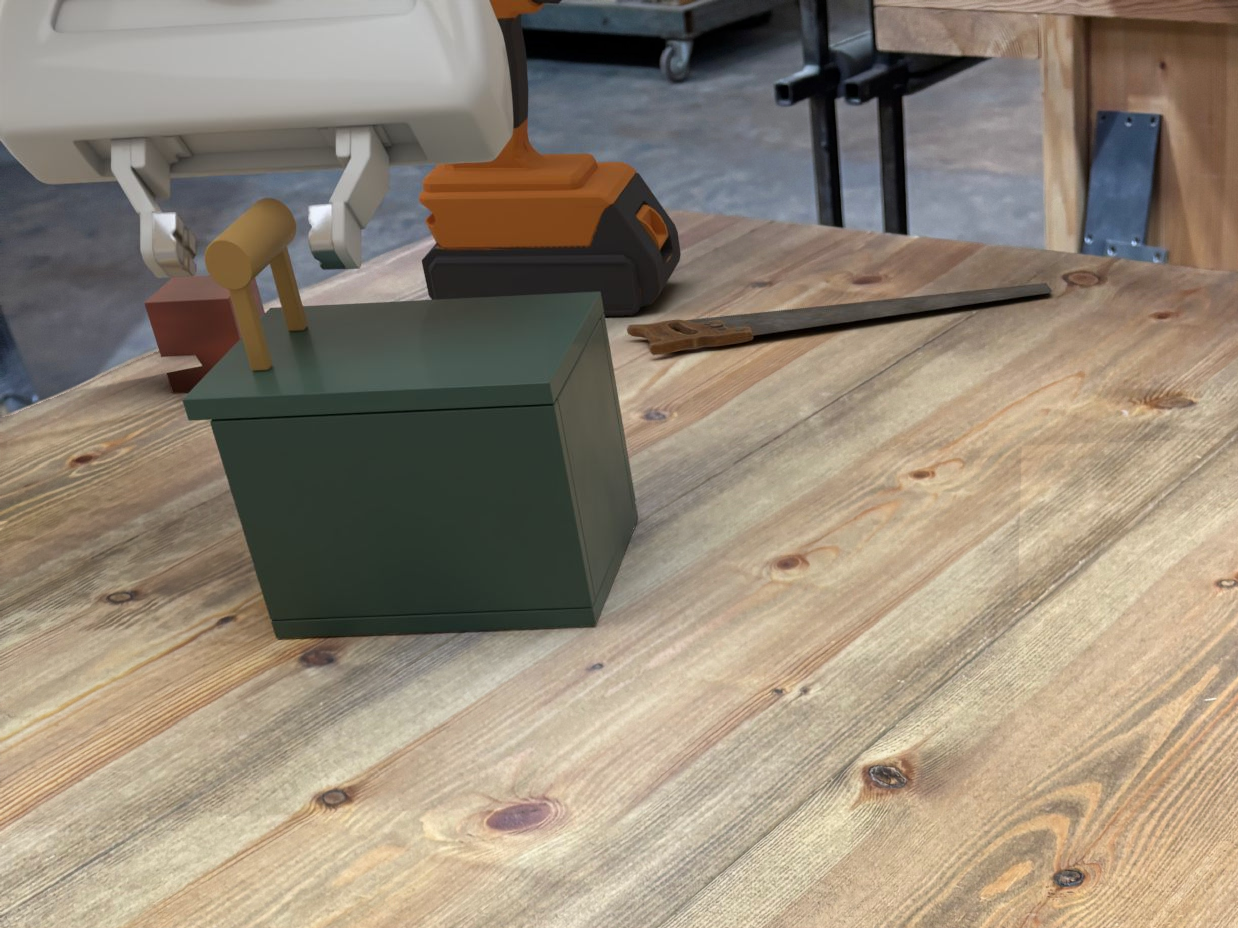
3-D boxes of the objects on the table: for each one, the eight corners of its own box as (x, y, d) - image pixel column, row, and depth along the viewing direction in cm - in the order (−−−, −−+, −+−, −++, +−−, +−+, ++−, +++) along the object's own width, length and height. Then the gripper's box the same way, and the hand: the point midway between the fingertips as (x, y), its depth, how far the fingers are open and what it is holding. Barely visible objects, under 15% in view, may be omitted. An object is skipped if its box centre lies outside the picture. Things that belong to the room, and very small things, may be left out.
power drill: (787, 275, 116) (731, -256, 99) (766, 314, 111) (703, -241, 94) (440, 285, 119) (327, -232, 102) (403, 324, 113) (276, -216, 96)
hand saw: (1030, 275, 114) (1030, 262, 113) (1057, 296, 110) (1057, 283, 110) (626, 335, 109) (624, 322, 109) (641, 358, 106) (639, 345, 105)
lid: (188, 421, 75) (138, 263, 72) (275, 327, 84) (235, 182, 80) (553, 404, 75) (523, 244, 71) (604, 311, 83) (579, 163, 79)
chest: (275, 639, 81) (208, 421, 75) (348, 531, 90) (293, 327, 84) (596, 626, 81) (553, 405, 75) (638, 518, 89) (604, 312, 83)
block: (172, 393, 106) (143, 302, 103) (199, 365, 110) (172, 277, 106) (254, 389, 106) (228, 298, 103) (279, 362, 109) (254, 272, 106)
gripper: (-50, -121, 74) (-52, 232, 74) (476, -154, 73) (478, 205, 73) (39, -5, 81) (37, 321, 80) (524, -33, 80) (526, 297, 79)
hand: (251, 266), depth 76 cm, fingers open, 5 cm apart
